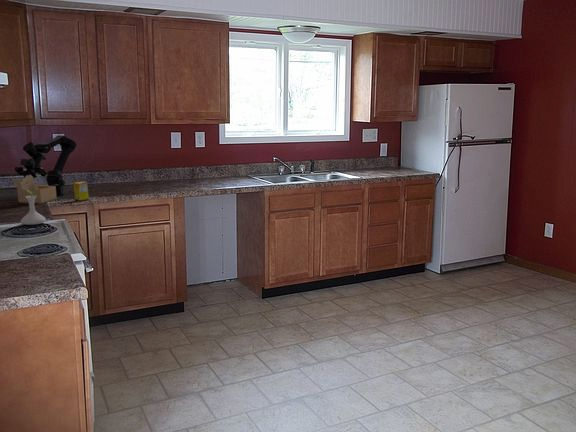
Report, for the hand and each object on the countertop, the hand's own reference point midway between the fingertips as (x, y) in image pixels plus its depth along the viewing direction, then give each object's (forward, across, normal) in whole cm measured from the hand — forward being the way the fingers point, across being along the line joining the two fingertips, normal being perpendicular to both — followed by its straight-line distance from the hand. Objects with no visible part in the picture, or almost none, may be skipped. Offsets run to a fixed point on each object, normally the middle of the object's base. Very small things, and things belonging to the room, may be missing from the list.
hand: (24, 183), depth 327 cm
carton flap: (0, 0, +1) cm, 1 cm away
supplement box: (-3, +24, +22) cm, 33 cm away
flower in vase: (+37, +40, -22) cm, 59 cm away
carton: (+2, 0, +15) cm, 15 cm away
